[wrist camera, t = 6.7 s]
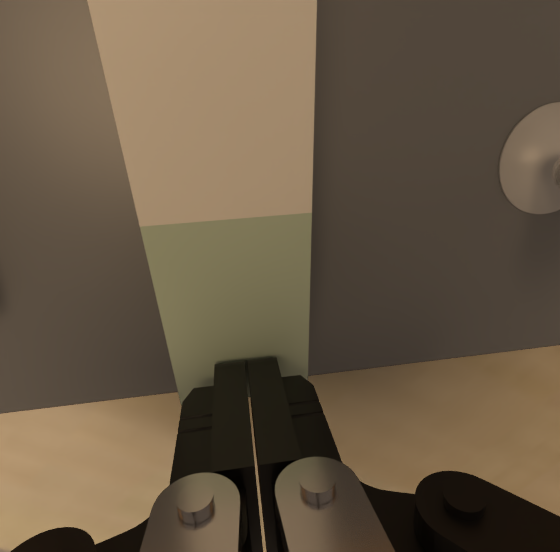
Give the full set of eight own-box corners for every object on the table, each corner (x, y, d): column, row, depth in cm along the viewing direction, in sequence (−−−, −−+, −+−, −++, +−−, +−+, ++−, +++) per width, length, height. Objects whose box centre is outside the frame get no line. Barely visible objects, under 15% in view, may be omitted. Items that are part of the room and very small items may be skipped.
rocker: (73, -137, 6) (50, -158, 5) (305, -136, 6) (321, -155, 5) (183, 375, 11) (181, 405, 11) (300, 361, 12) (307, 389, 11)
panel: (-394, -60, 9) (-737, -164, 6) (629, -72, 12) (789, -150, 9) (-170, 398, 13) (-300, 489, 10) (558, 314, 16) (648, 364, 13)
